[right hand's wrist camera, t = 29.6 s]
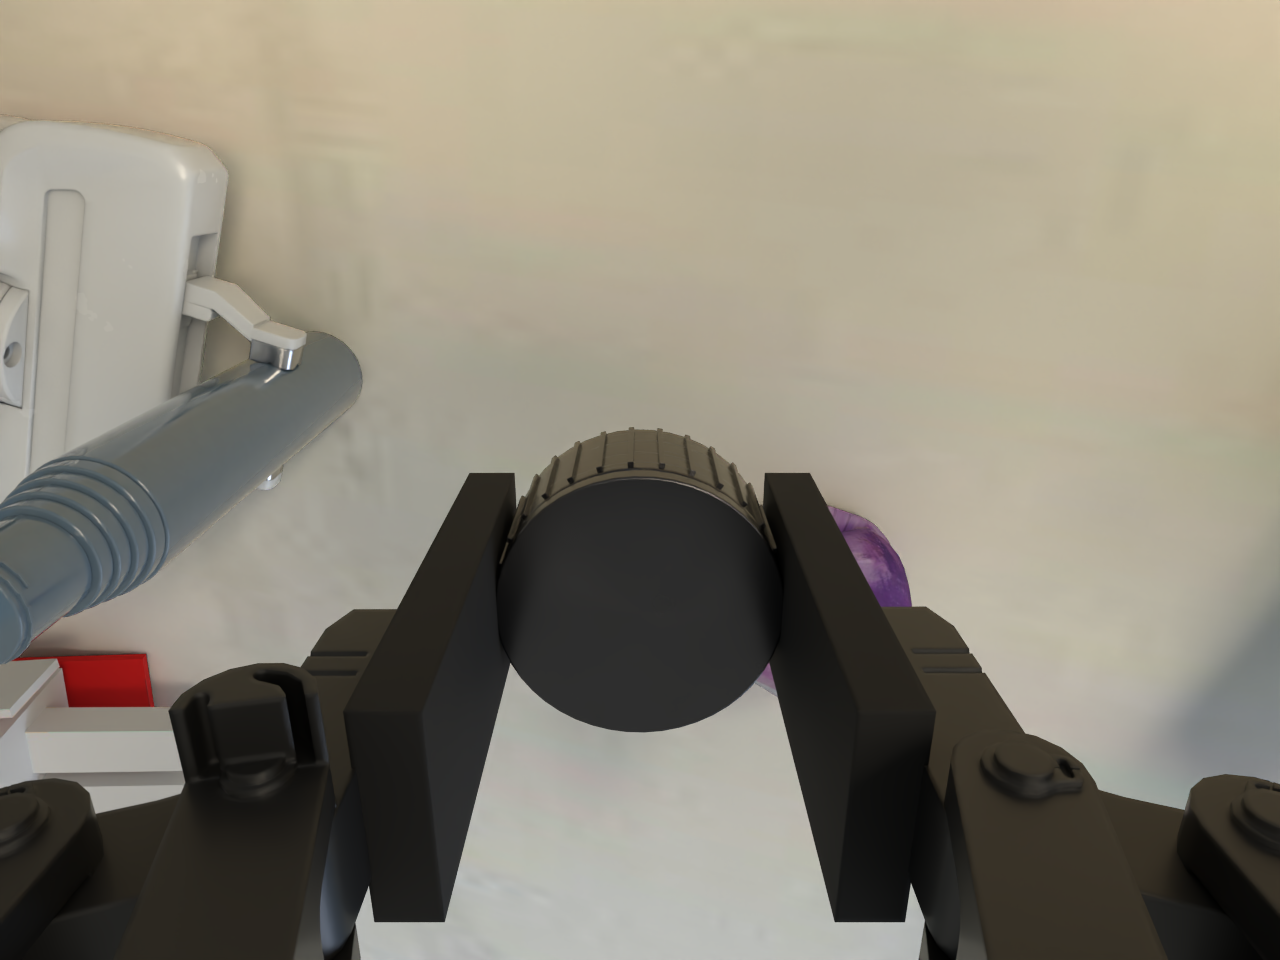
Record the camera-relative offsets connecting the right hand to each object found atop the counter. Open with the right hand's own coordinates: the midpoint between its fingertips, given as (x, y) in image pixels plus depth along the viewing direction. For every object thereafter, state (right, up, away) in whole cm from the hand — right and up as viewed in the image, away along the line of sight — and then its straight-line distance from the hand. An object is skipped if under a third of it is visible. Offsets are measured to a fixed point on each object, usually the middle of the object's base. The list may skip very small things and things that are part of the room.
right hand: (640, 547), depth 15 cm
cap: (0, -1, -2) cm, 2 cm away
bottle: (-17, +7, +30) cm, 35 cm away
